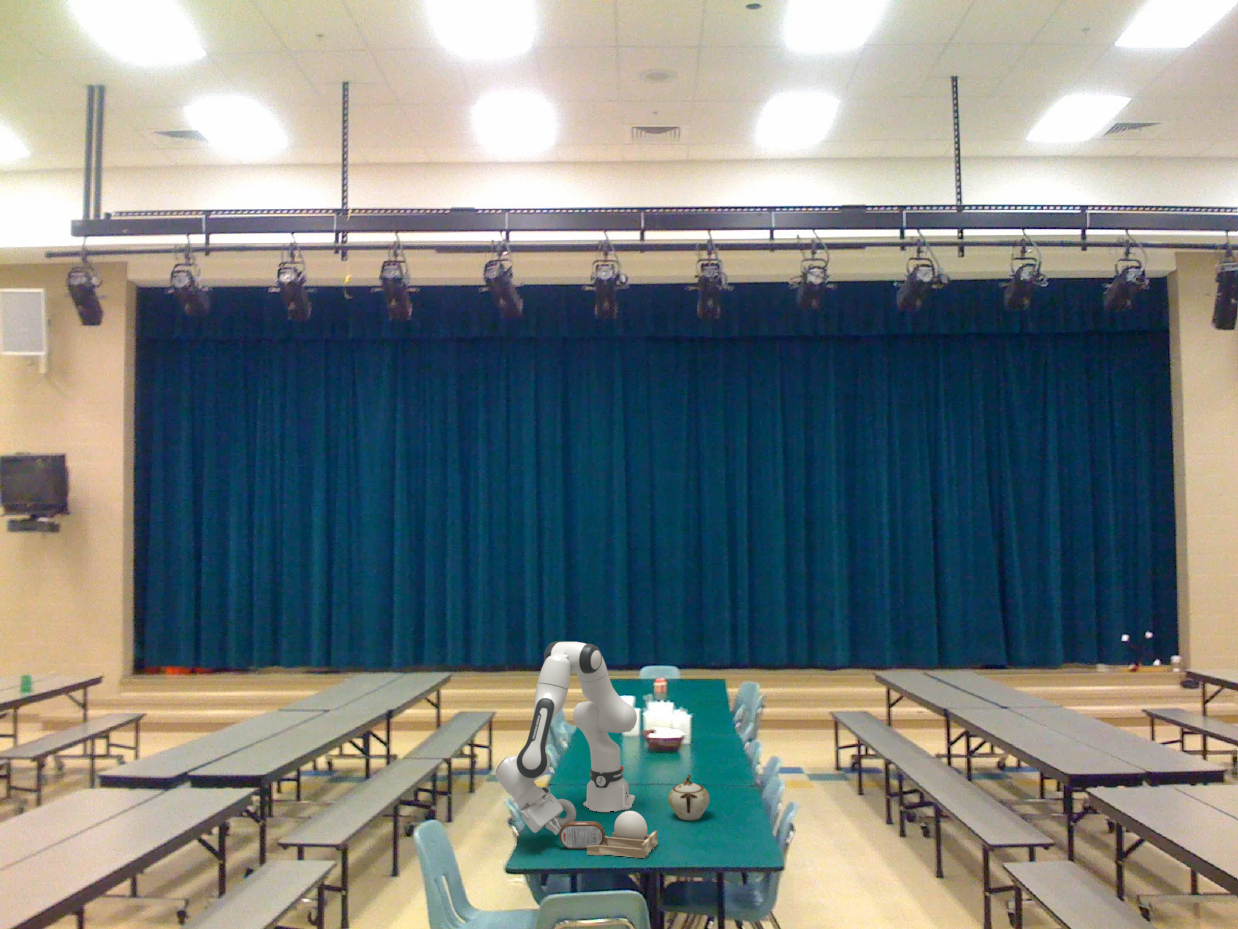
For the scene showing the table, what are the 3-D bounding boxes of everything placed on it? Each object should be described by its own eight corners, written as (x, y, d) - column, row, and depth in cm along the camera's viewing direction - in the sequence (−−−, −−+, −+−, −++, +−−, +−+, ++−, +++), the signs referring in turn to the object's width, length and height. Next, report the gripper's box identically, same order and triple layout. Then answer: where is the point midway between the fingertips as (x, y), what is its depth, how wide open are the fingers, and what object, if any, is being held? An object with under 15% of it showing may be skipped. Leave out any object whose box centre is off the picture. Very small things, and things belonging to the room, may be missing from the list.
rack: (602, 839, 320) (602, 826, 321) (657, 844, 314) (657, 830, 314) (585, 855, 305) (585, 841, 305) (643, 861, 299) (642, 846, 299)
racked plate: (616, 843, 316) (615, 809, 317) (647, 846, 313) (646, 812, 313) (614, 845, 315) (613, 811, 316) (646, 847, 311) (645, 813, 312)
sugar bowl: (710, 825, 332) (709, 781, 333) (667, 825, 334) (666, 782, 335) (709, 808, 352) (708, 767, 353) (669, 808, 353) (668, 767, 354)
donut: (577, 826, 335) (576, 797, 336) (575, 830, 332) (574, 800, 332) (549, 826, 336) (548, 797, 337) (547, 829, 333) (546, 800, 333)
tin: (605, 846, 314) (604, 820, 314) (604, 849, 310) (604, 823, 311) (560, 847, 314) (559, 821, 315) (558, 850, 311) (558, 824, 312)
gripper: (524, 802, 309) (552, 836, 305) (549, 786, 328) (576, 817, 324) (512, 815, 310) (540, 849, 306) (538, 798, 329) (564, 829, 325)
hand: (559, 832), depth 315 cm, fingers closed
